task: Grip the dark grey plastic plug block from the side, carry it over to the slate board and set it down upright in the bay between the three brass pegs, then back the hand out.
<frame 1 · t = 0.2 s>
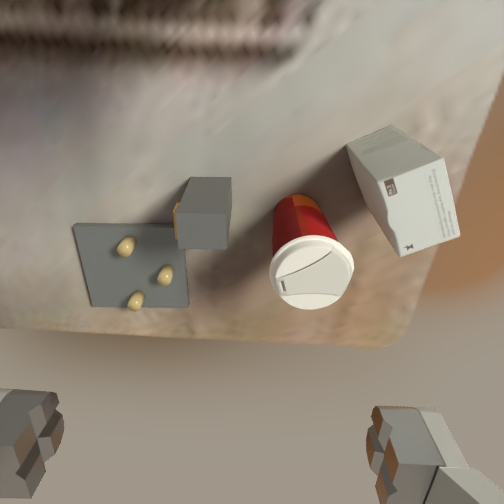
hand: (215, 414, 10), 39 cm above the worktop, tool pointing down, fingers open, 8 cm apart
plug block: (211, 192, 48), on the worktop
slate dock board: (136, 265, 53), on the worktop
coffee cup: (296, 214, 50), on the worktop
skincare box: (375, 162, 46), on the worktop
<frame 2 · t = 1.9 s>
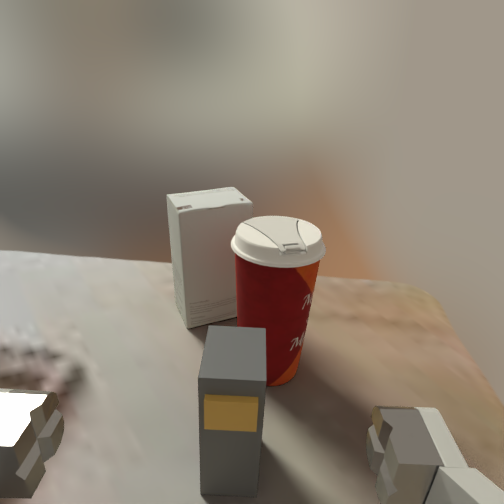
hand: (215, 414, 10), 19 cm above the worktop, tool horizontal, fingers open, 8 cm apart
plug block: (231, 462, 29), on the worktop
coffee cup: (267, 365, 39), on the worktop
skincare box: (210, 312, 47), on the worktop
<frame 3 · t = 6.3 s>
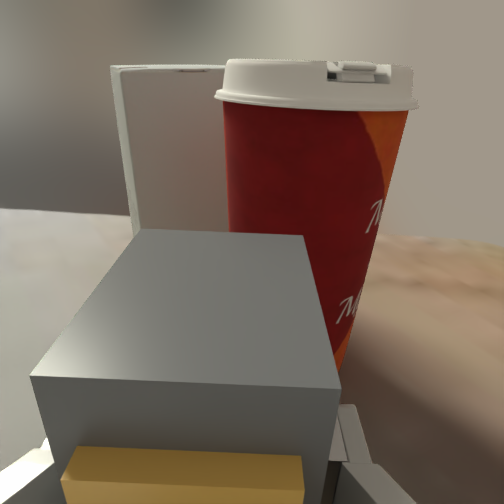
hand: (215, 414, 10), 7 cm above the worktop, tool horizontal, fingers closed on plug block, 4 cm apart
coffee cup: (287, 357, 22), on the worktop
skincare box: (191, 275, 30), on the worktop
when the fingers open (8 cm above the worktop, at t = 11.0 s): plug block stays where it is, resting on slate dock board.
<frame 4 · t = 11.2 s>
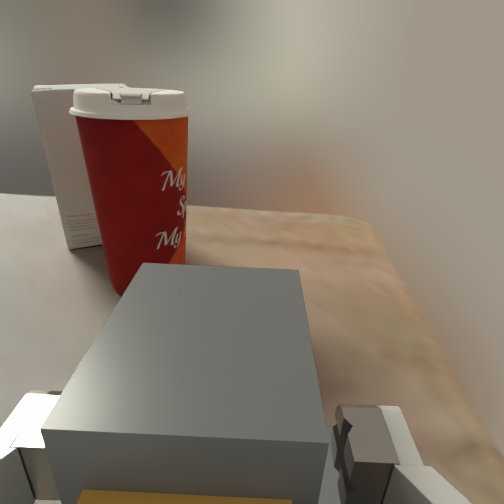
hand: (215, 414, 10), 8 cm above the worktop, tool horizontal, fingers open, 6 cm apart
coffee cup: (149, 281, 33), on the worktop
skincare box: (106, 237, 41), on the worktop
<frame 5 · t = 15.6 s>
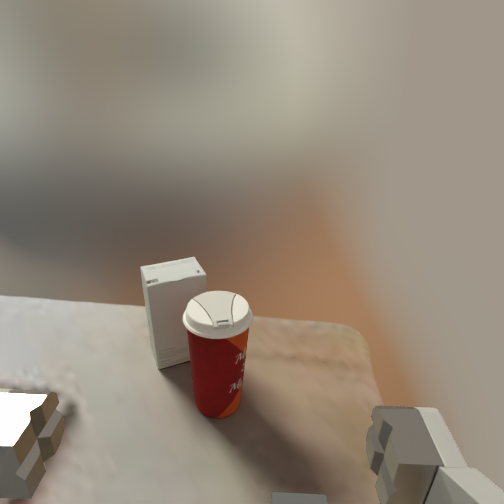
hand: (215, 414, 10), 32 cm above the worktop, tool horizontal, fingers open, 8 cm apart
coffee cup: (217, 400, 51), on the worktop
skincare box: (178, 353, 59), on the worktop
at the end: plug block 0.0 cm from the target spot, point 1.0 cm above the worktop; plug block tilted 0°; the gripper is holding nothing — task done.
